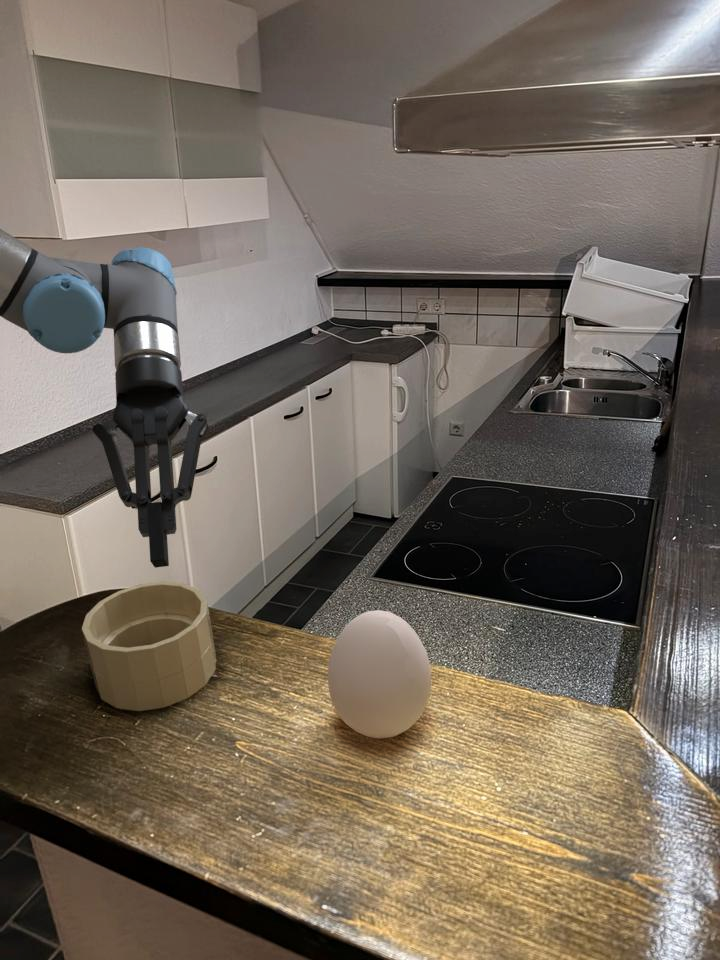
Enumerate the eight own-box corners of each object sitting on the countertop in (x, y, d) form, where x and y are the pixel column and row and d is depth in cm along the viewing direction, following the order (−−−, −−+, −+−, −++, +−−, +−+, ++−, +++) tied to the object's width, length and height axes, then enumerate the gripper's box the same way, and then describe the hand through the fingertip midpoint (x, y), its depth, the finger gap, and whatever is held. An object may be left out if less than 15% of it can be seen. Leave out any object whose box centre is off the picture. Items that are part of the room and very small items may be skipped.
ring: (89, 727, 68) (71, 658, 65) (108, 651, 78) (93, 589, 75) (216, 709, 69) (204, 641, 66) (218, 637, 79) (208, 575, 76)
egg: (395, 681, 71) (390, 576, 67) (453, 735, 65) (452, 622, 60) (314, 718, 67) (303, 609, 63) (366, 780, 61) (358, 663, 56)
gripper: (208, 380, 94) (224, 564, 86) (99, 391, 92) (105, 579, 84) (200, 348, 87) (217, 546, 79) (83, 359, 85) (87, 562, 77)
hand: (159, 563), depth 81 cm, fingers closed
